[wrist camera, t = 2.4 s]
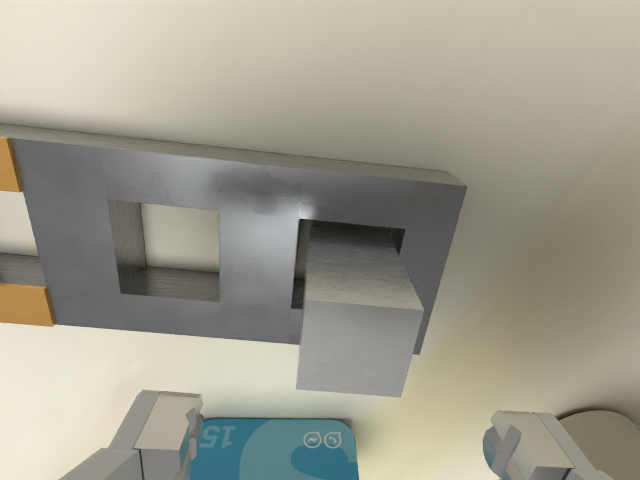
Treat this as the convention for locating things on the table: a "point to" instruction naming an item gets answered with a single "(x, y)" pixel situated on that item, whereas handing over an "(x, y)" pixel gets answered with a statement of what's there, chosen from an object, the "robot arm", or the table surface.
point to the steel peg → (356, 312)
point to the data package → (275, 450)
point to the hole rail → (234, 231)
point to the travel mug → (607, 442)
